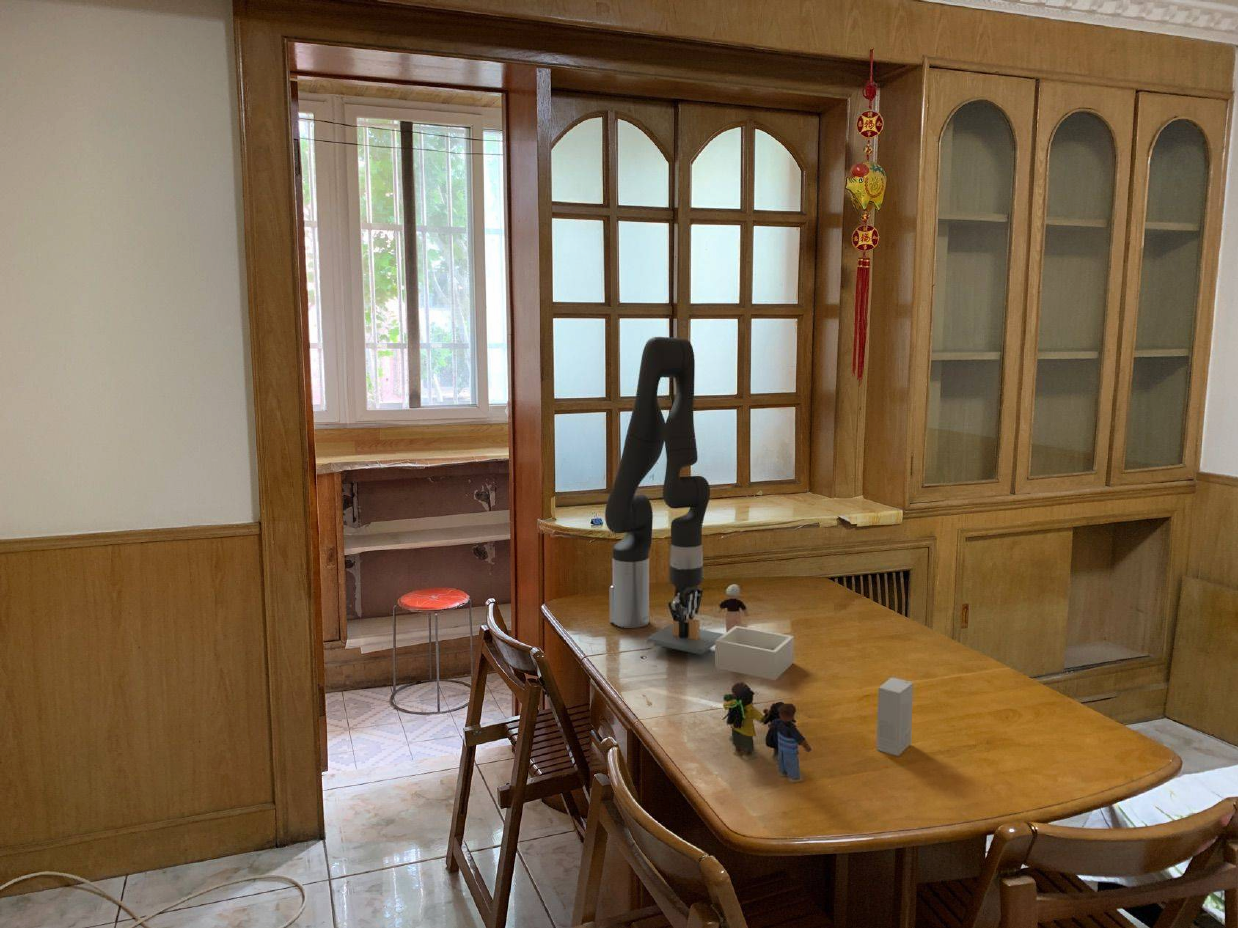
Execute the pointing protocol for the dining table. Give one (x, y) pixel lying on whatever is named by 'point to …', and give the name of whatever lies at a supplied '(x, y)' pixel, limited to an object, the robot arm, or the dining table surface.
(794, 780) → the doll family
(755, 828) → the dining table surface
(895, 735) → the skincare box
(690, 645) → the lid
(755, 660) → the small white cabinet
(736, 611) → the grandmother figurine
